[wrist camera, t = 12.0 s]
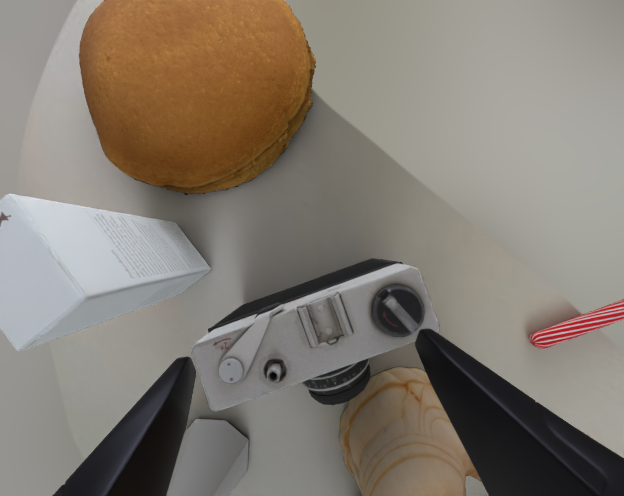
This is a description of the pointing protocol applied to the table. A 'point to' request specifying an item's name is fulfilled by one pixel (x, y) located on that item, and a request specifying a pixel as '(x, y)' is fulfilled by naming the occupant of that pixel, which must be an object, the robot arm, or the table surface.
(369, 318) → the camera
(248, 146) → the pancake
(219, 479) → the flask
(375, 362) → the table surface
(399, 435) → the statue
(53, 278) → the cosmetic box
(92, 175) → the table surface
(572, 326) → the candy cane
